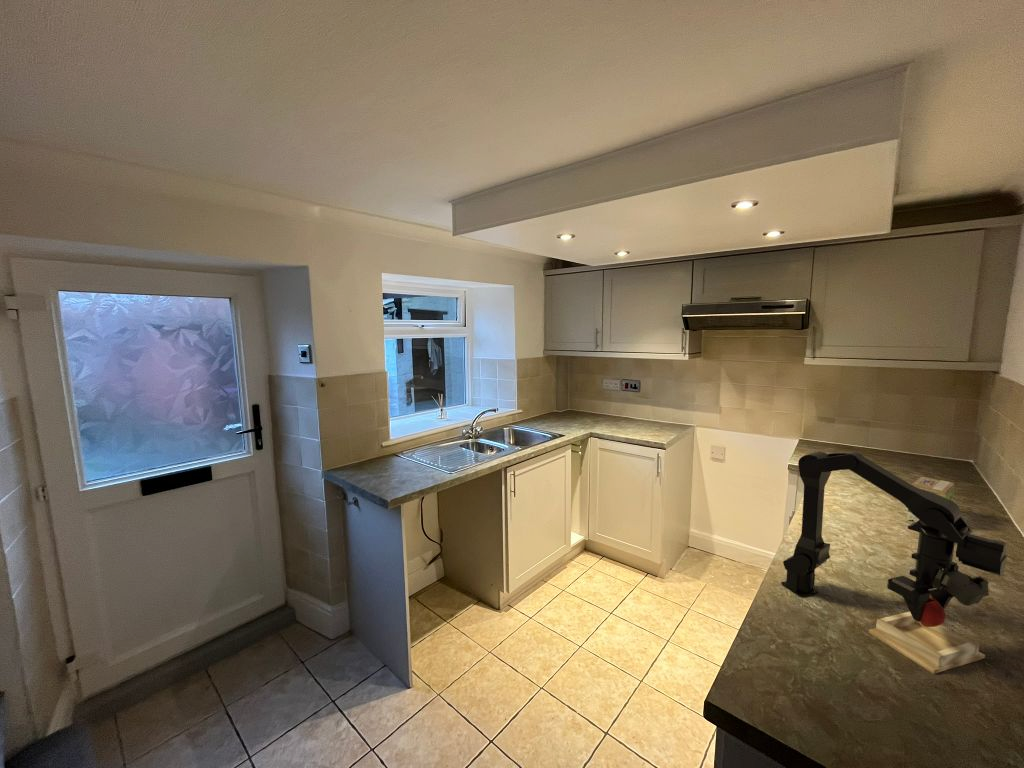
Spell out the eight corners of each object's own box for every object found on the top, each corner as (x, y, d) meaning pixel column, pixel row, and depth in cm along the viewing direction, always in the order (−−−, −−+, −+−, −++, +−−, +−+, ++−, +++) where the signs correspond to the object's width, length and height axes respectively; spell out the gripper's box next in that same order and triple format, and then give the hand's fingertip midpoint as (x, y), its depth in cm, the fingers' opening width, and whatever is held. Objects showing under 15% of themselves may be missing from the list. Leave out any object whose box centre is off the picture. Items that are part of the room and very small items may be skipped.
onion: (925, 617, 102) (929, 586, 101) (950, 634, 96) (955, 601, 95) (901, 618, 102) (905, 586, 101) (925, 635, 96) (929, 602, 95)
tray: (933, 673, 91) (935, 659, 91) (868, 632, 104) (870, 620, 103) (984, 658, 95) (986, 644, 95) (916, 620, 108) (917, 608, 107)
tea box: (942, 530, 156) (947, 490, 154) (905, 520, 164) (909, 483, 162) (951, 519, 165) (955, 482, 163) (915, 510, 173) (919, 475, 171)
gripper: (949, 580, 87) (940, 651, 89) (1011, 566, 91) (1001, 634, 93) (889, 553, 97) (881, 616, 99) (946, 542, 102) (938, 603, 104)
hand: (926, 618), depth 99 cm, fingers closed on onion, 6 cm apart
